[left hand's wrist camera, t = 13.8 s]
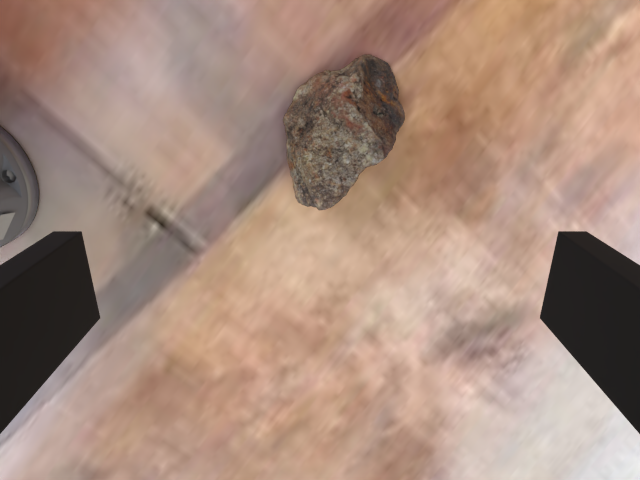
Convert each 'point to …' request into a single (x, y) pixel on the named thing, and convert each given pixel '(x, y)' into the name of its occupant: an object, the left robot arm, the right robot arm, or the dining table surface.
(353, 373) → the dining table surface
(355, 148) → the rock
